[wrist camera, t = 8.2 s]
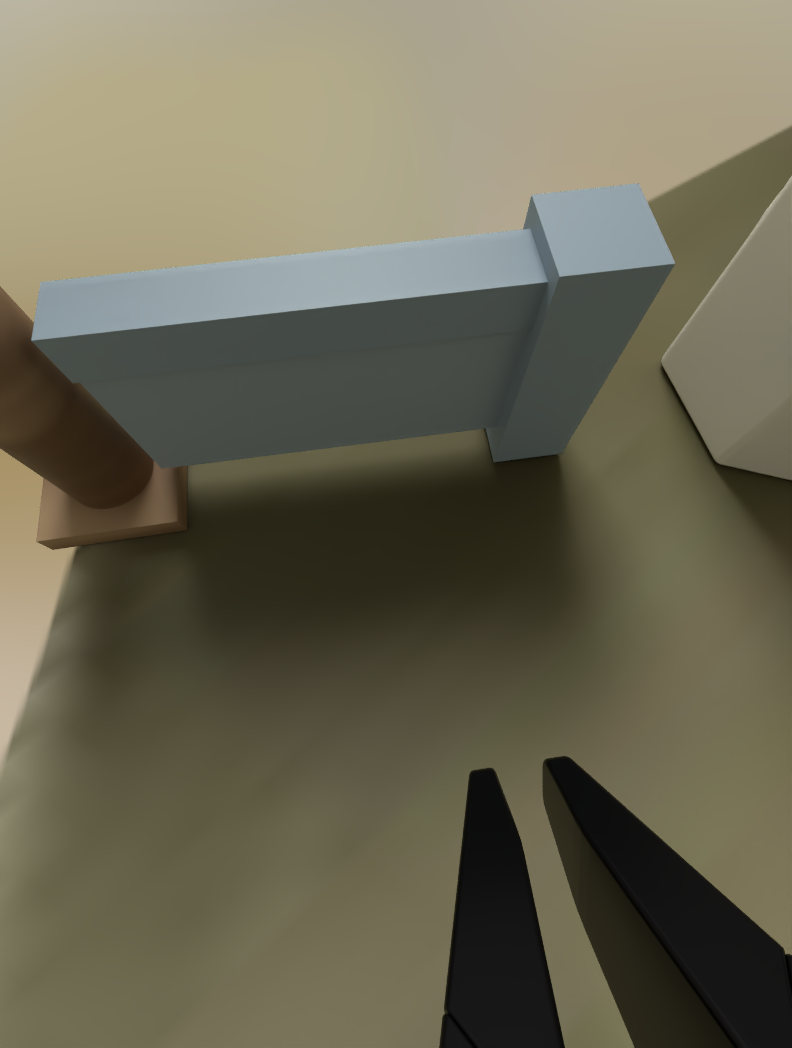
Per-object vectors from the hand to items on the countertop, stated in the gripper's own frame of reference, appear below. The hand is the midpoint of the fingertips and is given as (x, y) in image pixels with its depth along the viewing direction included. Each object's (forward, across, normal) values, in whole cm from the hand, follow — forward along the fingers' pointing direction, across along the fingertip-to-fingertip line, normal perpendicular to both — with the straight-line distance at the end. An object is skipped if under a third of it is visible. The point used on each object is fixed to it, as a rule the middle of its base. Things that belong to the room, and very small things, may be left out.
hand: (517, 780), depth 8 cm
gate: (+11, +2, -3) cm, 12 cm away
